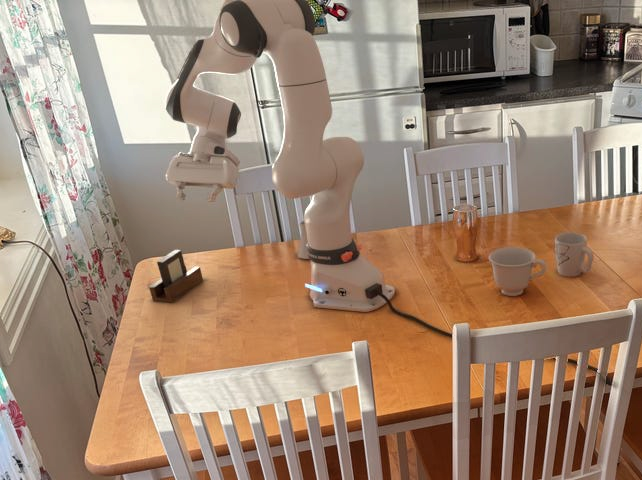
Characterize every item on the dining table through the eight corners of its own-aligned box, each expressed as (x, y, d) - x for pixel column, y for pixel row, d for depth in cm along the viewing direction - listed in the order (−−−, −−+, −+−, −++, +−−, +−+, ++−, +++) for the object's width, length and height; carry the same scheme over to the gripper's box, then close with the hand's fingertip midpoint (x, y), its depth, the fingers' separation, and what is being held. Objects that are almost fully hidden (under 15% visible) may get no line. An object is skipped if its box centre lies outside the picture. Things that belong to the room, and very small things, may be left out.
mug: (600, 274, 197) (602, 240, 192) (581, 284, 192) (583, 249, 187) (566, 263, 204) (568, 229, 199) (547, 273, 199) (548, 238, 194)
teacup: (538, 306, 182) (539, 269, 177) (482, 298, 187) (481, 262, 182) (551, 286, 192) (552, 250, 187) (498, 278, 197) (497, 244, 191)
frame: (183, 280, 199) (175, 249, 194) (189, 280, 198) (181, 250, 194) (165, 293, 192) (156, 261, 187) (171, 293, 192) (162, 262, 187)
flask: (316, 260, 210) (311, 227, 205) (293, 259, 212) (287, 226, 206) (326, 250, 216) (321, 218, 211) (303, 249, 218) (298, 217, 212)
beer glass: (450, 260, 208) (448, 210, 200) (460, 251, 213) (458, 202, 205) (473, 264, 205) (471, 213, 197) (482, 254, 211) (481, 204, 203)
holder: (184, 278, 202) (180, 265, 200) (203, 280, 201) (199, 267, 199) (152, 300, 191) (148, 287, 189) (172, 302, 189) (168, 289, 187)
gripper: (167, 146, 200) (155, 192, 198) (233, 149, 196) (221, 196, 193) (181, 158, 206) (169, 203, 204) (245, 161, 202) (233, 207, 199)
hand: (195, 200), depth 198 cm, fingers open, 8 cm apart
